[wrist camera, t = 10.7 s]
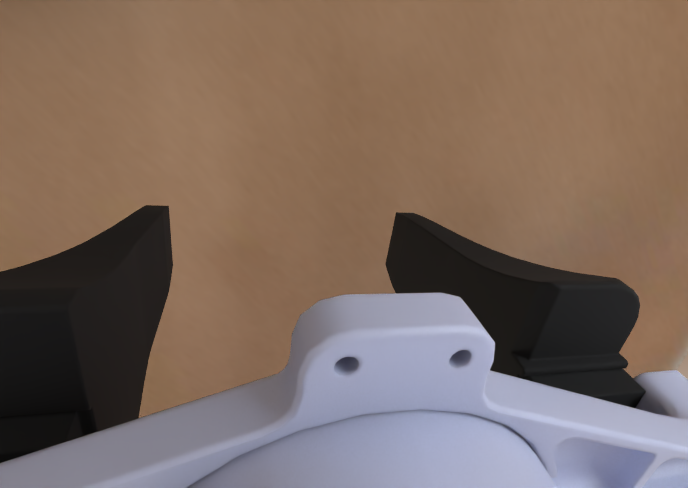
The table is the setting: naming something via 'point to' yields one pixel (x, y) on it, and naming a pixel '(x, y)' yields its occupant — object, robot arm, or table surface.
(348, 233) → the table surface
